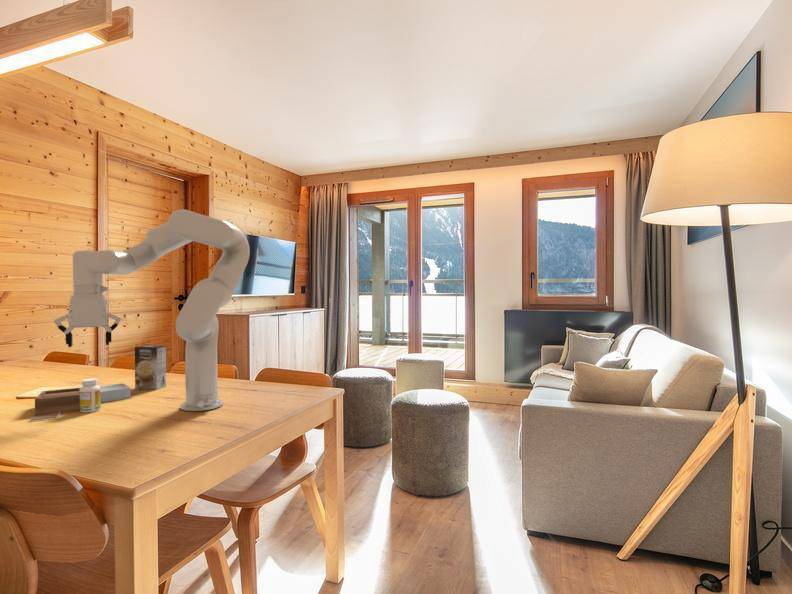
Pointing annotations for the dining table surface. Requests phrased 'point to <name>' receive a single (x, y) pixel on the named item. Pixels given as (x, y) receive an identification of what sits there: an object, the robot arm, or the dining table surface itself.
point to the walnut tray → (58, 401)
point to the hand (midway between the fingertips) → (89, 345)
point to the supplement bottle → (89, 396)
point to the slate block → (114, 392)
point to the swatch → (44, 416)
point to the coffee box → (150, 367)
